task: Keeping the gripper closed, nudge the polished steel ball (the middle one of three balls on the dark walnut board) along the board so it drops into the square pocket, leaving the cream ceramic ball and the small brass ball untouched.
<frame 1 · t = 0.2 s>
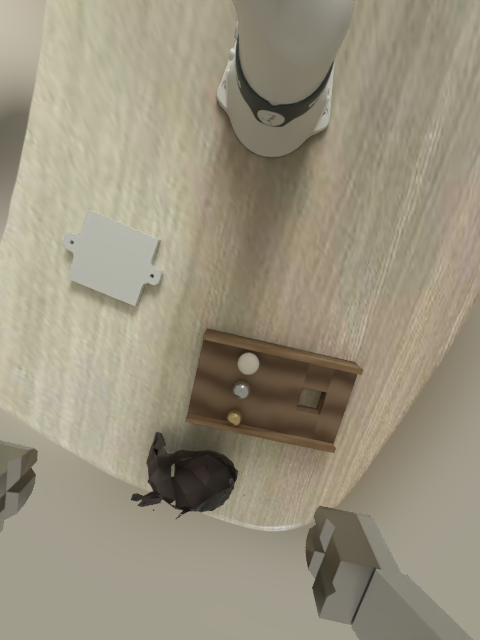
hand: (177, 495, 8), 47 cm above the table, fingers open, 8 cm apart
steel ball: (241, 390, 54), point 4 cm above the table, touching board
board: (270, 387, 59), on the table
mounting plate: (117, 259, 54), on the table
cream ball: (248, 363, 53), point 4 cm above the table, touching board
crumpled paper: (198, 454, 62), on the table
brass ball: (234, 417, 56), point 4 cm above the table, touching board
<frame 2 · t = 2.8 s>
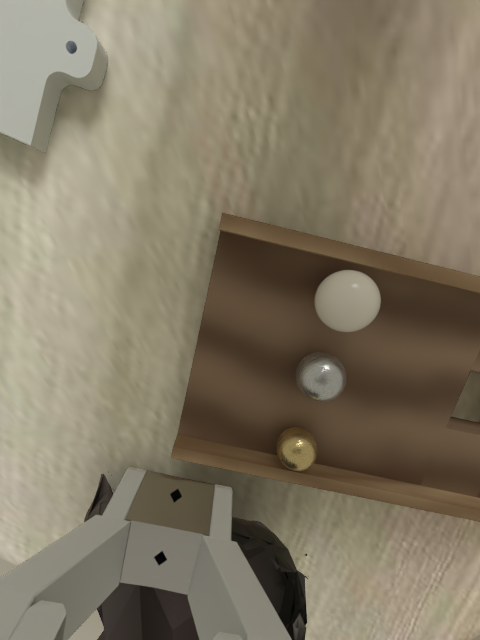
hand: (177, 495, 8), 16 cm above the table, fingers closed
steel ball: (320, 376, 20), point 4 cm above the table, touching board
board: (375, 371, 25), on the table
cream ball: (346, 301, 19), point 4 cm above the table, touching board
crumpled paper: (202, 517, 28), on the table
brass ball: (296, 448, 22), point 4 cm above the table, touching board
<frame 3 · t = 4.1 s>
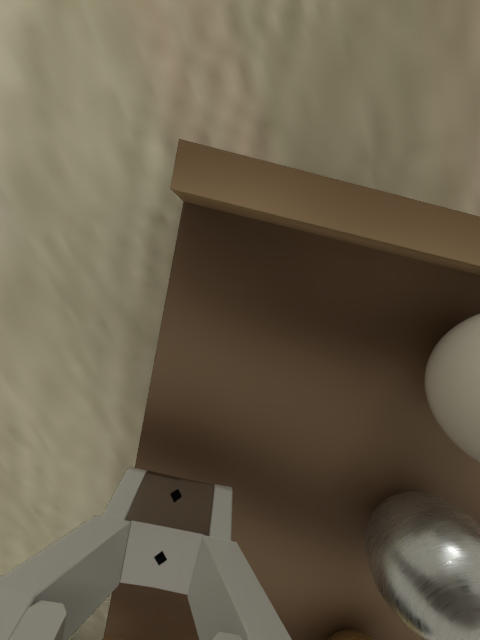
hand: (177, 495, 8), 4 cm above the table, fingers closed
steel ball: (431, 561, 8), point 4 cm above the table, touching board
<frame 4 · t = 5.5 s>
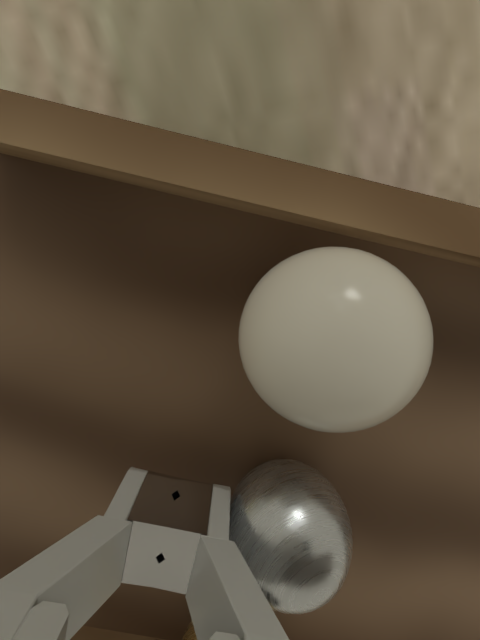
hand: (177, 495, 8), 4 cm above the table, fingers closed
steel ball: (286, 526, 8), point 4 cm above the table, tilted 19°, touching board, gripper
board: (395, 459, 12), on the table
cream ball: (327, 337, 7), point 4 cm above the table, touching board
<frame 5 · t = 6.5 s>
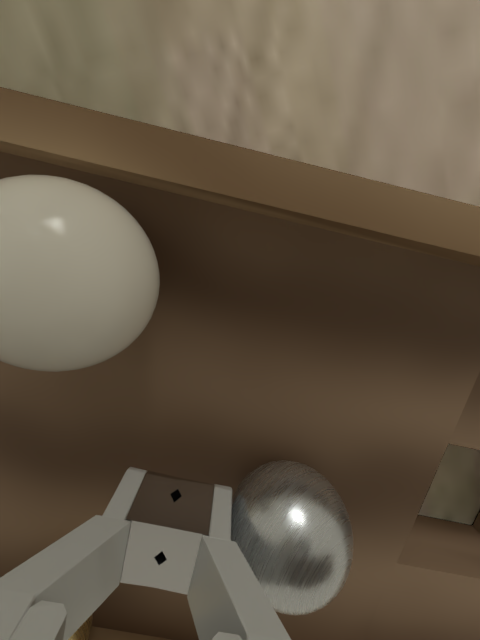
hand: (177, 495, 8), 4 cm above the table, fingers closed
steel ball: (287, 528, 8), point 4 cm above the table, tilted 139°, touching board, gripper
board: (260, 431, 12), on the table
cream ball: (63, 277, 6), point 4 cm above the table, touching board
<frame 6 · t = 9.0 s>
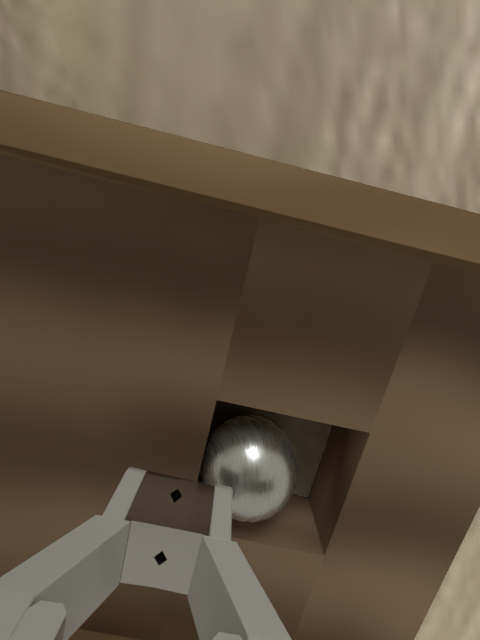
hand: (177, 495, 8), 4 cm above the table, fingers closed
steel ball: (249, 464, 10), point 2 cm above the table, tilted 115°
board: (75, 396, 12), on the table
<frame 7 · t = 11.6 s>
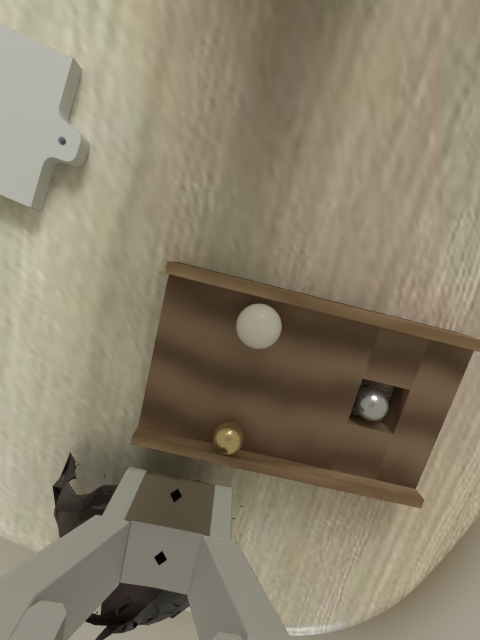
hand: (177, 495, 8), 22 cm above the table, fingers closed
steel ball: (370, 403, 30), point 2 cm above the table, tilted 129°
board: (296, 379, 31), on the table
cream ball: (258, 326, 26), point 4 cm above the table, touching board
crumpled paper: (158, 485, 34), on the table
brass ball: (228, 437, 28), point 4 cm above the table, touching board
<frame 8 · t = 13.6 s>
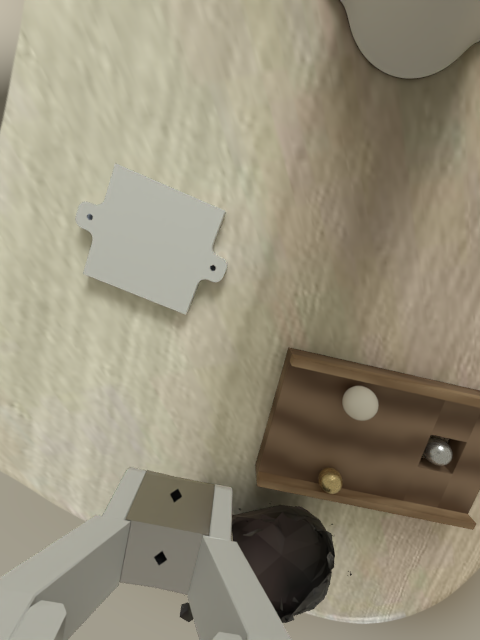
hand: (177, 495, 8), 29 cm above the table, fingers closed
steel ball: (437, 451, 39), point 2 cm above the table, tilted 140°
board: (375, 431, 40), on the table
mounting plate: (157, 243, 36), on the table
cream ball: (359, 402, 35), point 4 cm above the table, touching board
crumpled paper: (262, 508, 44), on the table
brass ball: (330, 480, 37), point 4 cm above the table, touching board
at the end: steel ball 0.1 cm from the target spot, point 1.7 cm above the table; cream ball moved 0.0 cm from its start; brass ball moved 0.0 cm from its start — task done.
